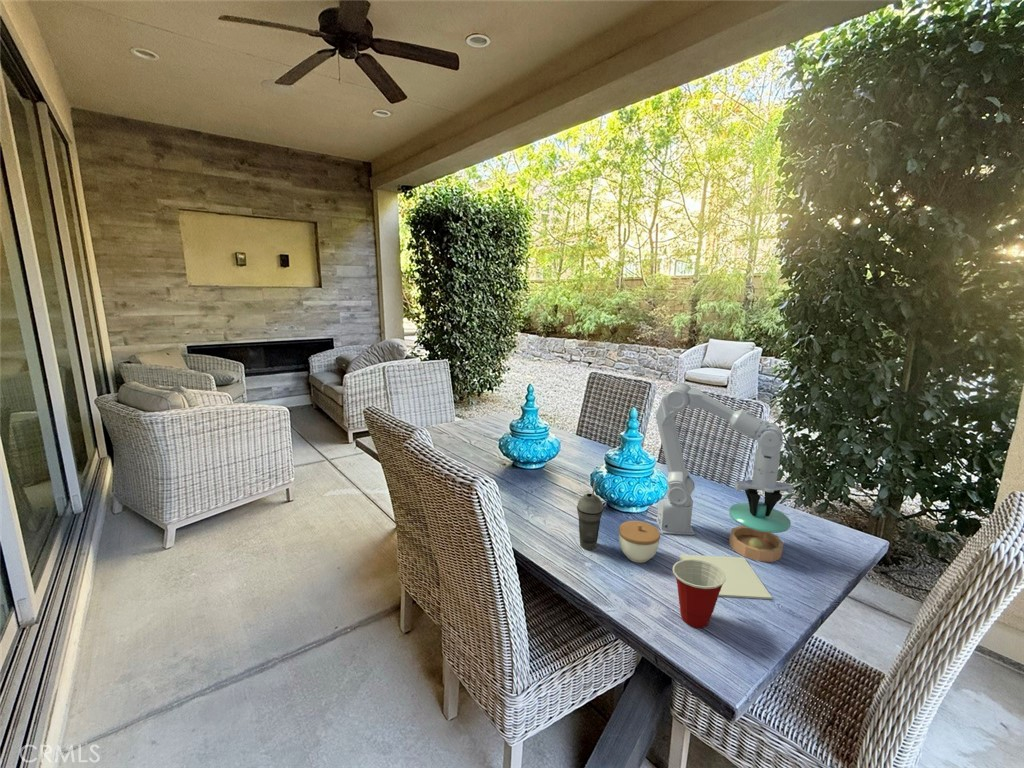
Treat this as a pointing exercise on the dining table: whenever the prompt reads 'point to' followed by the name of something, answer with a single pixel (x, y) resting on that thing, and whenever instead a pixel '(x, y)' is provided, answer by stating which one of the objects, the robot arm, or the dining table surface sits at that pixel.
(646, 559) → the lidded jar
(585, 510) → the beverage cup
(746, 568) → the mat
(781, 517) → the lid
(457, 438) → the dining table surface
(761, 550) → the bowl
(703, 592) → the plastic cup
